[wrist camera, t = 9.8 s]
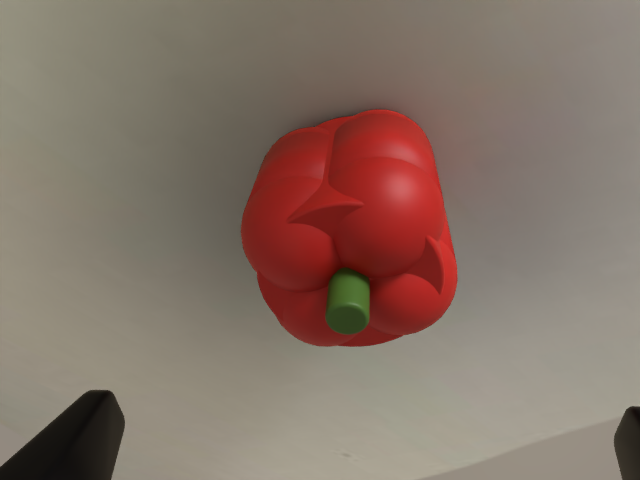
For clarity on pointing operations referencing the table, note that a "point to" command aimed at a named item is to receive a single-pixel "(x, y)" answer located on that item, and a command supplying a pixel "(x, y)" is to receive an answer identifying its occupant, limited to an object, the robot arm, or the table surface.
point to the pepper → (351, 231)
